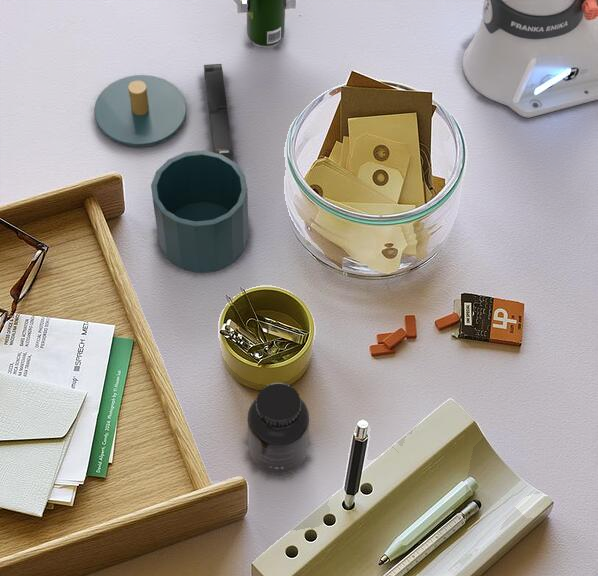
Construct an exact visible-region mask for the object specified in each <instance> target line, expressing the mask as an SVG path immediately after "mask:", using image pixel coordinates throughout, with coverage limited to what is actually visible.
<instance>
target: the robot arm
mask: <svg viewBox="0 0 598 576" xmlns="http://www.w3.org/2000/svg"><path fill="white" fill-rule="evenodd" d="M233 2H234V3H235V4H236V11H237V13H238V14H244V13H245V14H246V13H247V12H248V1H247V0H233ZM296 4H297V0H285V10H289V9H290V10H293V9H296V6H297V5H296ZM462 69H463V74H464V76H465V78H466V79H467V80H466V81H468V83H469V84H470V85H471V86H472V88H473V89H474V90H475V91H477V92H478V93H479V94H480V95H482V96H483V97H486V98H488V99H490V100H491V101H493V102H497V103H499V104H502V105H505V106H507V107H508V108H510V109H511V110H513V111H514V112H515V113H516V114H517V115H519V116H521V117H523V118H526V119H527V118H534V117H537V116H541V115H546V114H549V113H552V112H556V111H560V110H564V109H567V108H568V109H569V108H571V107H575V106H580V105H583V104H586V103H589V102H593V101H598V0H483V6H482V18H481V19H480V23H479V25H478V28H477V29H476V32H475V34H474V36H473V37H472V40H471V41H470V43H469V45H467V47H466V49H465V50H464V53H463V56H462Z"/></svg>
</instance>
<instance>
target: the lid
mask: <svg viewBox="0 0 598 576" xmlns="http://www.w3.org/2000/svg"><path fill="white" fill-rule="evenodd" d="M186 116H187V103H186V100H185V98H184V95H183V93H182V92H181V90H180V89H178V87H176V85H174V84H173V83H171V82H170V81H168V80H166V79H164V78H161V77H157V76H154V75H148V74H147V75H146V74H140V75H138V74H137V75H129V76H125V77H123V78H120V79H118V80H115V81H114V82H112V83H110V84H108V86H106V87H105V88H104V89H103V90H102V91H101V92H100V94H99V95H98V97H97V99H96V101H95V104H94V119H95V121H96V124H97V127H98V128H99V129H100V131H101V132H102V133H103V134H104V135H105V136H106V137H108V138H109V139H111V140H112V141H114V142H116V143H118V144H121V145H125V146H130V147H147V146H154V145H157V144H160V143H162V142H165V141H166V140H169V139H170V138H171V137H173V136H174V135H175V134H177V132H179V131H180V129H181V128H182V127H183V124H184V122H185V121H186Z"/></svg>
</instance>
